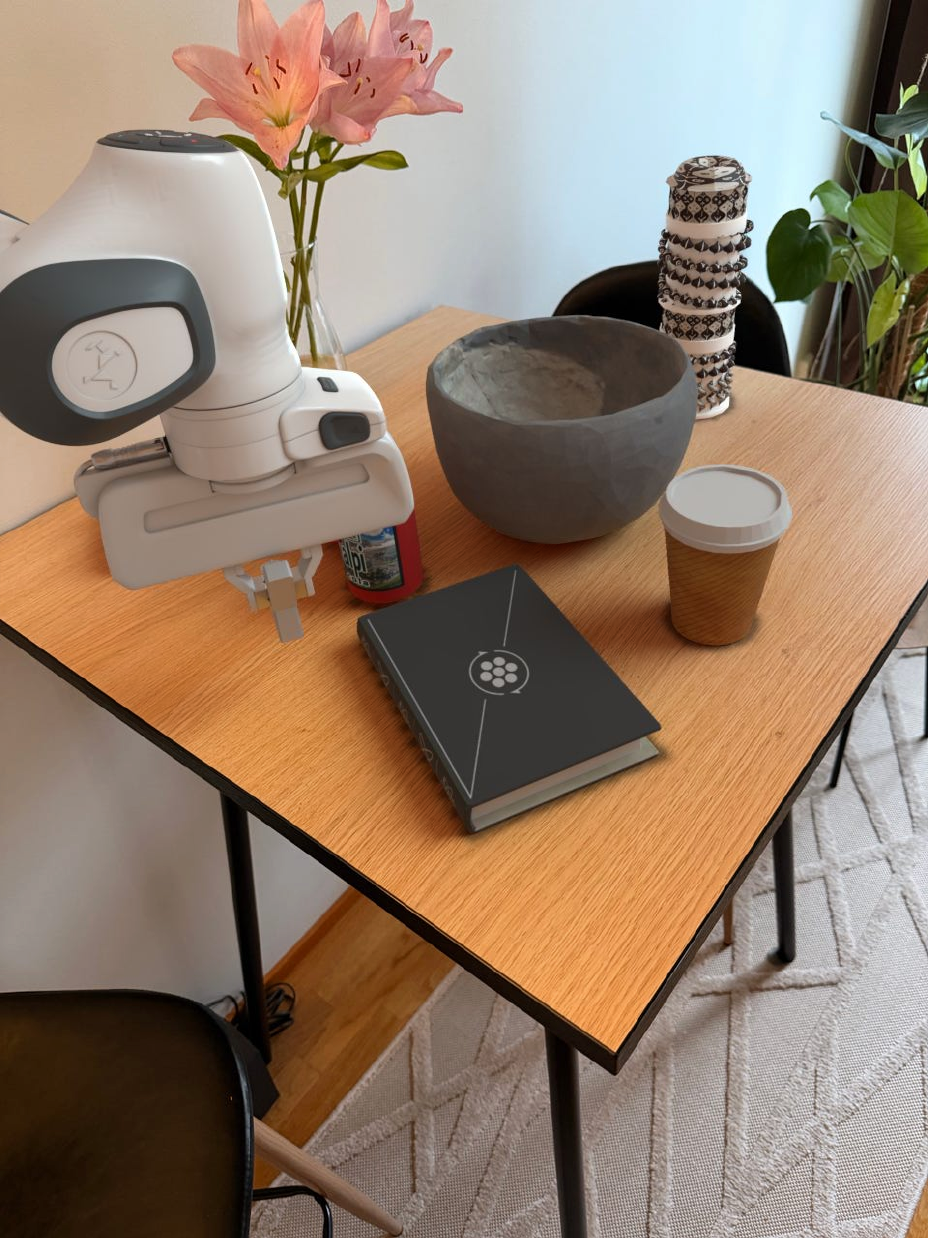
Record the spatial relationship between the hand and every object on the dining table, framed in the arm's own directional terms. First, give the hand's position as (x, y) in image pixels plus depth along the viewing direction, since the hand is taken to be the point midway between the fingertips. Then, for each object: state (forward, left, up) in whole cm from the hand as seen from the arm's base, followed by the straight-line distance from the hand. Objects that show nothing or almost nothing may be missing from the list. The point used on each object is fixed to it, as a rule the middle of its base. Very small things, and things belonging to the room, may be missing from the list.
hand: (282, 598), depth 64 cm
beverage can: (+9, +11, -10) cm, 18 cm away
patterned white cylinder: (+50, +29, -10) cm, 59 cm away
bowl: (+28, +16, -10) cm, 34 cm away
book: (+13, -6, -10) cm, 18 cm away
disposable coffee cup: (+32, -5, -10) cm, 34 cm away
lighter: (0, 0, -4) cm, 4 cm away
